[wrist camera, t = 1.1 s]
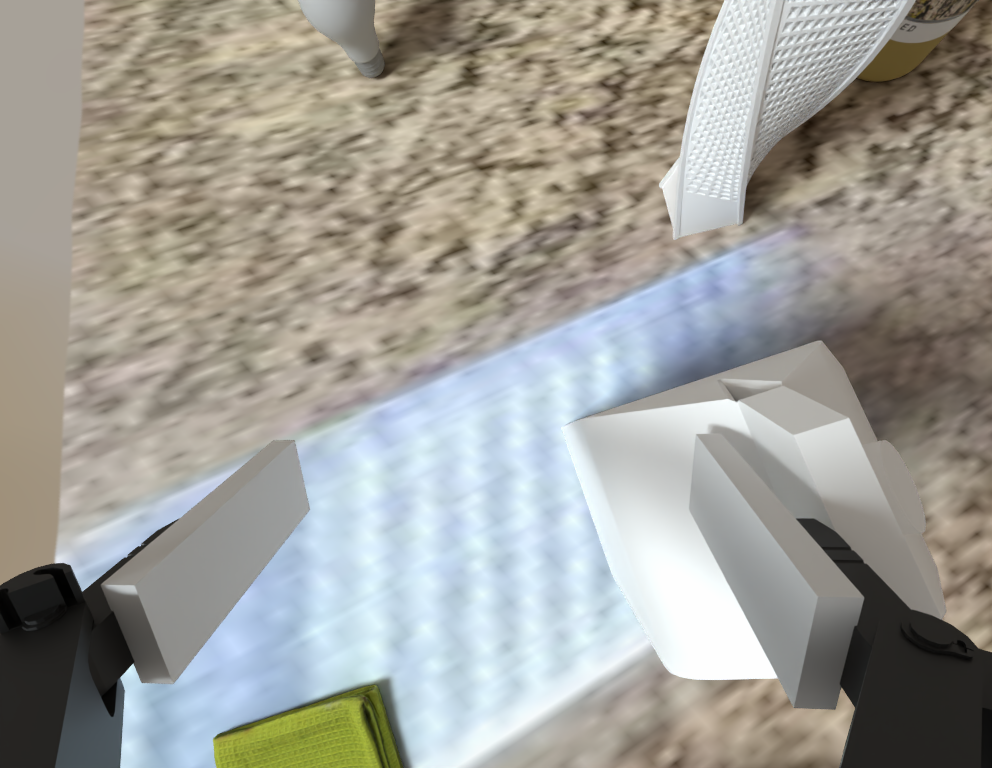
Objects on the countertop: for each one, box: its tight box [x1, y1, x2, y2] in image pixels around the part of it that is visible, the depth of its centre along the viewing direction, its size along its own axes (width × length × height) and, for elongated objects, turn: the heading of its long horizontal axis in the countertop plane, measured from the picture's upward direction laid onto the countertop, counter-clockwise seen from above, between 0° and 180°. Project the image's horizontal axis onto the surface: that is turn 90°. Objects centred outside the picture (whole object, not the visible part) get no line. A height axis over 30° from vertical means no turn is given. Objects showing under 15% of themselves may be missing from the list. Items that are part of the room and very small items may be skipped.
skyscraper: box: [659, 0, 916, 240], centre depth 25 cm, size 8×8×28 cm
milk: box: [561, 341, 946, 680], centre depth 24 cm, size 12×12×26 cm
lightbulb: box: [298, 0, 385, 78], centre depth 40 cm, size 6×6×11 cm
